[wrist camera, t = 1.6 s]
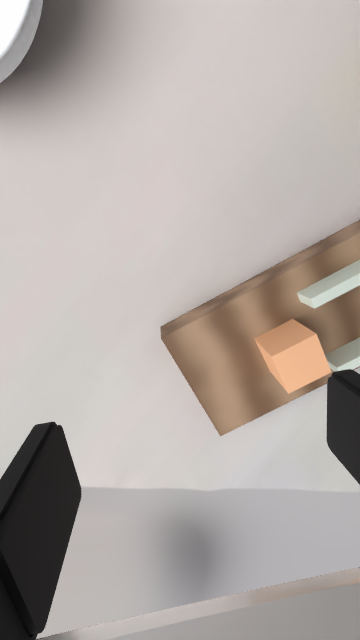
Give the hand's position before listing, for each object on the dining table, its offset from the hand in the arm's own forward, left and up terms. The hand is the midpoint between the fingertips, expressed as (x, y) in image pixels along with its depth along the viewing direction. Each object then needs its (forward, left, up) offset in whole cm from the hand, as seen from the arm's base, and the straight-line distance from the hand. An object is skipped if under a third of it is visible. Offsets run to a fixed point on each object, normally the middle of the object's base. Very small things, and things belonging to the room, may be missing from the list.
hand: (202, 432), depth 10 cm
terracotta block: (-9, +12, -22) cm, 26 cm away
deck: (-20, +12, -26) cm, 35 cm away
